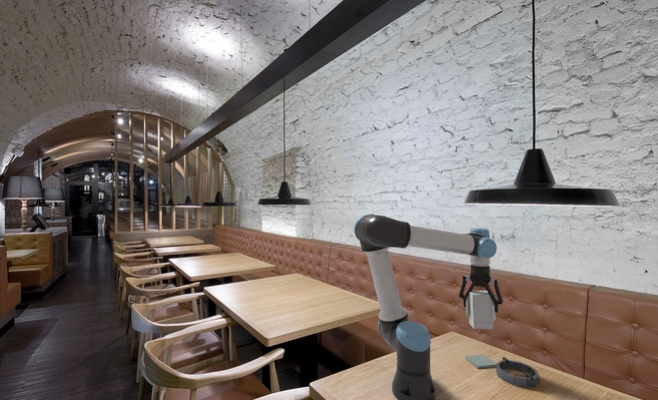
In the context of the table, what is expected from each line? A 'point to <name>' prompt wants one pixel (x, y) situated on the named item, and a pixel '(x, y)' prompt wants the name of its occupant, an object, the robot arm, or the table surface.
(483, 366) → the plate
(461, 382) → the table surface
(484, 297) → the skincare box
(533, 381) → the locking ring
